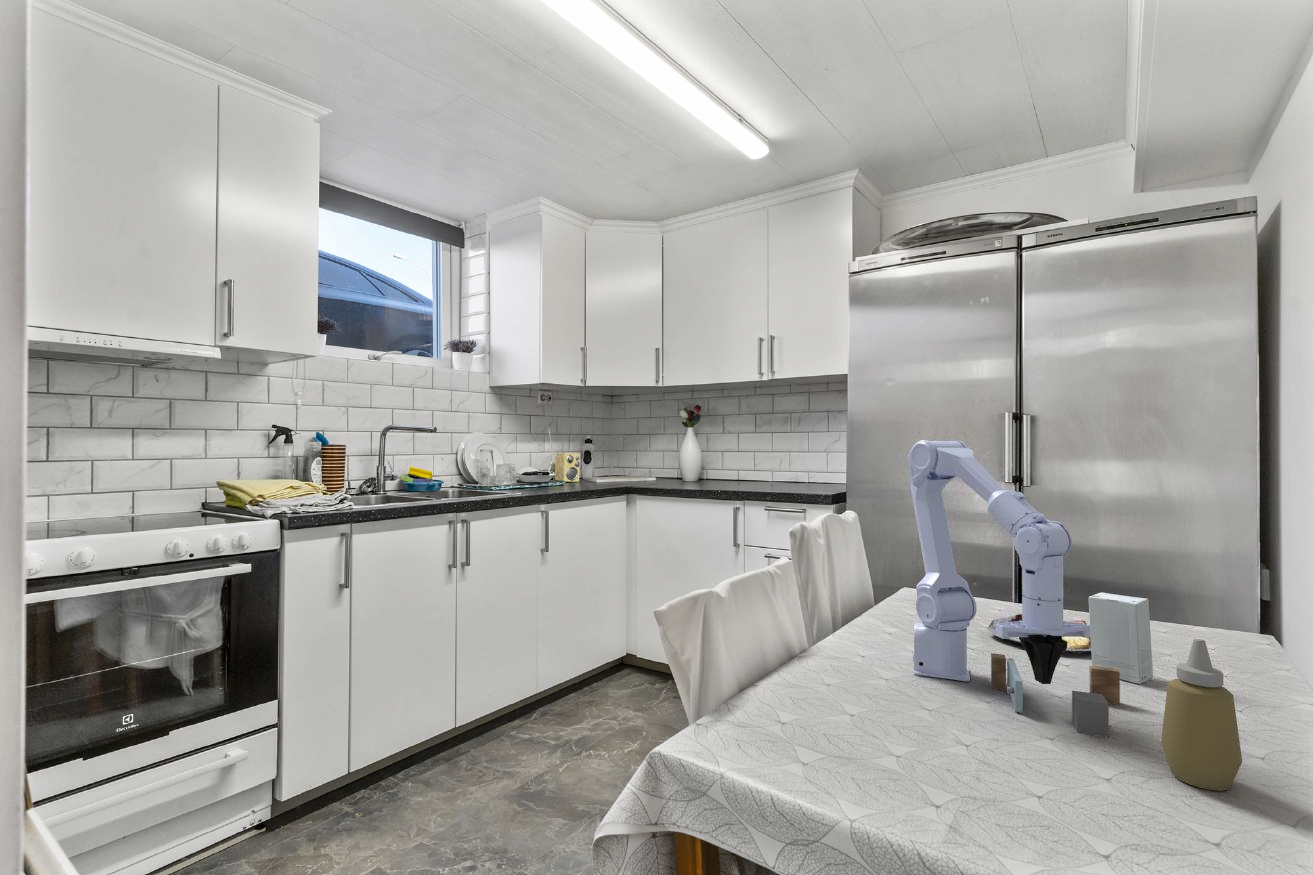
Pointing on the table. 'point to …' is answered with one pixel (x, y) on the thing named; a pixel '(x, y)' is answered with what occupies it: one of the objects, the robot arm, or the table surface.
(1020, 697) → the door
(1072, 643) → the food plate
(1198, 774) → the squeeze bottle
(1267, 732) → the table surface
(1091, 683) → the door frame
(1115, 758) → the table surface
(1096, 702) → the block
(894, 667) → the table surface
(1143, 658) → the skincare box
